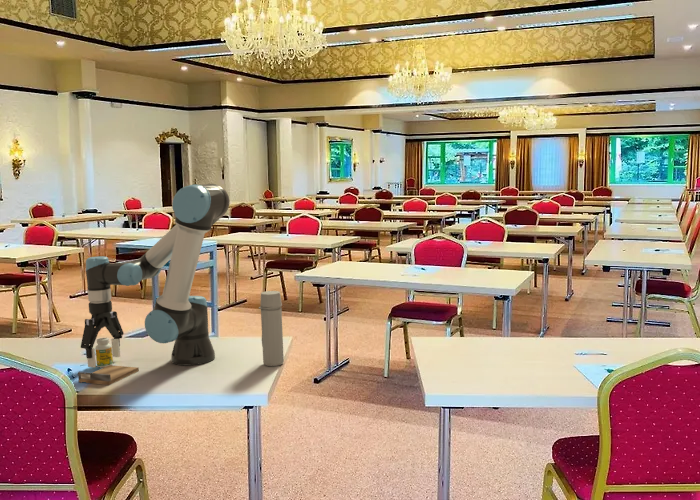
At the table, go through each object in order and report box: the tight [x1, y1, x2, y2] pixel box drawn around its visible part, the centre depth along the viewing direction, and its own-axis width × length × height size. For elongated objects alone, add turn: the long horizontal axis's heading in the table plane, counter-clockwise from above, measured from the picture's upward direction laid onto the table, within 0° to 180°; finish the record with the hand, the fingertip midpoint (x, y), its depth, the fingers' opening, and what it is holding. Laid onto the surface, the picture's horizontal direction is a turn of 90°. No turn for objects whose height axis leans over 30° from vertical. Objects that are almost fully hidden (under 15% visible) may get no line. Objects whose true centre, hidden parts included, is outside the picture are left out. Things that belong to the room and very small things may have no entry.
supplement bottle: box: [94, 337, 114, 369], centre depth 229 cm, size 5×5×10 cm
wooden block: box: [77, 364, 139, 386], centre depth 217 cm, size 12×15×3 cm
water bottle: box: [258, 290, 285, 367], centre depth 225 cm, size 9×8×25 cm
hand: (104, 361), depth 230 cm, fingers open, 12 cm apart
